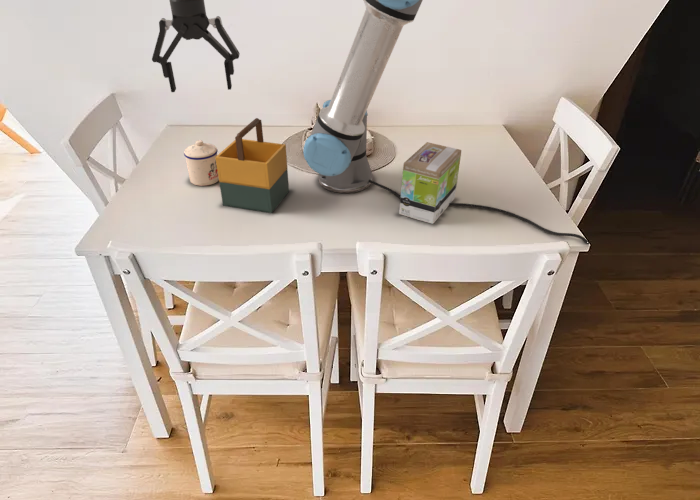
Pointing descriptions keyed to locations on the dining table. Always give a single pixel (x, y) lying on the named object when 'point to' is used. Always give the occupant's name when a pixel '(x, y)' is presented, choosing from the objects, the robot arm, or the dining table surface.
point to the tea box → (429, 182)
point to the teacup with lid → (202, 163)
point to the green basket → (255, 195)
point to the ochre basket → (252, 160)
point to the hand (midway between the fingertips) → (201, 89)
